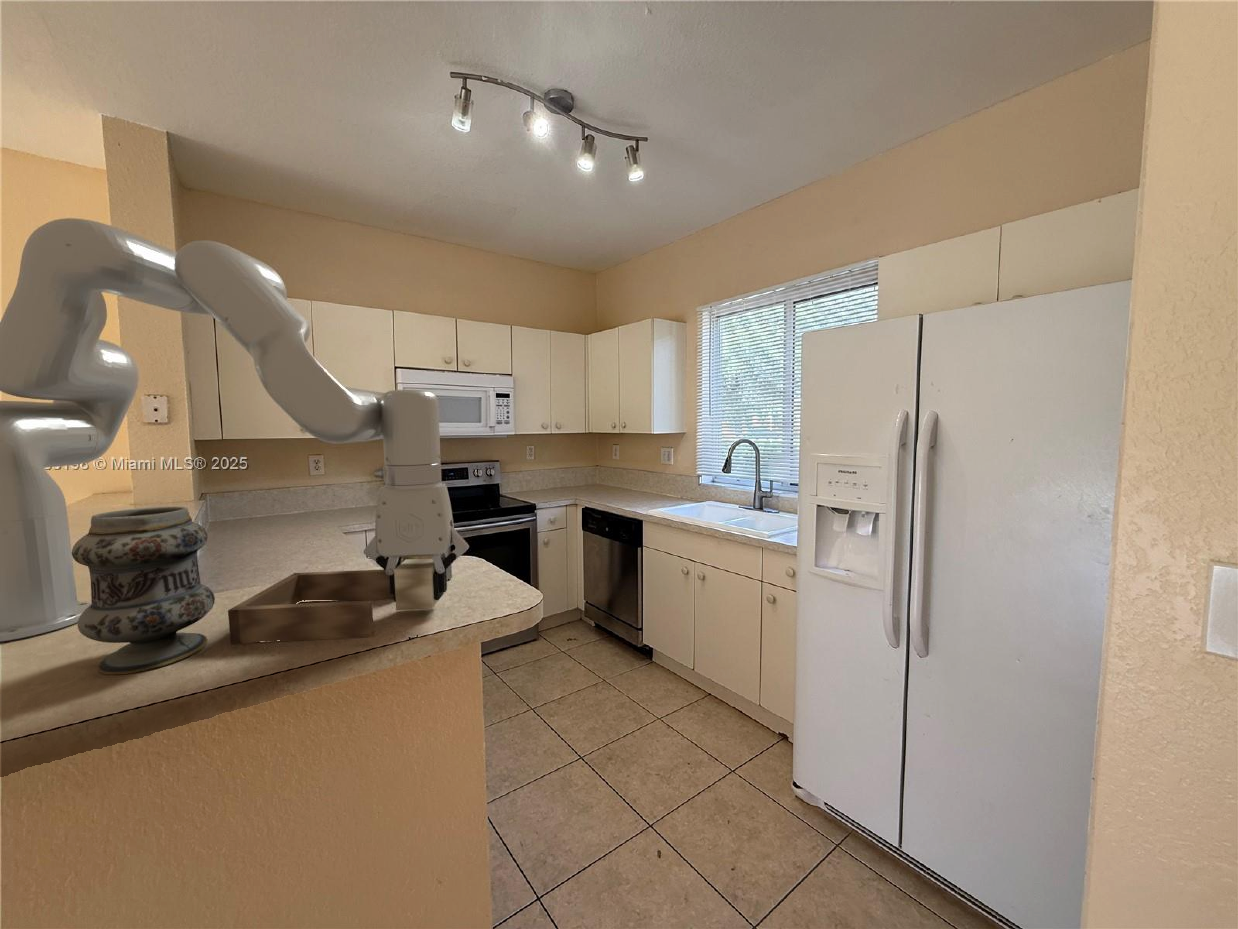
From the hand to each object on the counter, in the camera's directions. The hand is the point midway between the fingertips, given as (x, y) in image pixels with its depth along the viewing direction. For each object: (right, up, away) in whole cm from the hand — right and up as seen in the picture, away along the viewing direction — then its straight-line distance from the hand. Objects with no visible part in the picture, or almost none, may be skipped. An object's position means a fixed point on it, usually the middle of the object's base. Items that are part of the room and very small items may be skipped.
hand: (419, 596), depth 73 cm
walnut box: (-12, -3, -1) cm, 12 cm away
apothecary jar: (-28, -4, -12) cm, 30 cm away
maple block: (0, -1, 0) cm, 1 cm away
